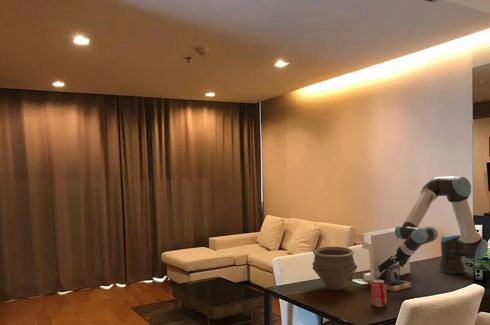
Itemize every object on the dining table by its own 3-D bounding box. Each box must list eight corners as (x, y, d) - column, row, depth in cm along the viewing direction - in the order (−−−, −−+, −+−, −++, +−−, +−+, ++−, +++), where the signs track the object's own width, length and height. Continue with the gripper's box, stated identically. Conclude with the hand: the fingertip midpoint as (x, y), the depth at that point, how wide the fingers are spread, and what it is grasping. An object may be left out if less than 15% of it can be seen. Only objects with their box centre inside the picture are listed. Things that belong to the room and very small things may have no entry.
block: (374, 282, 239) (372, 235, 239) (363, 280, 245) (361, 233, 246) (410, 272, 258) (407, 228, 259) (398, 270, 265) (396, 227, 266)
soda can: (383, 302, 203) (382, 278, 203) (389, 307, 196) (387, 282, 196) (369, 303, 202) (368, 279, 203) (374, 308, 195) (373, 283, 196)
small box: (385, 287, 226) (384, 268, 227) (378, 284, 233) (377, 265, 233) (401, 284, 229) (400, 266, 230) (393, 282, 236) (393, 264, 236)
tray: (385, 280, 242) (385, 276, 242) (411, 287, 227) (410, 282, 227) (368, 284, 236) (368, 280, 236) (393, 291, 220) (393, 287, 220)
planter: (358, 283, 238) (356, 246, 239) (358, 296, 215) (356, 254, 215) (315, 282, 245) (314, 245, 245) (310, 293, 221) (309, 253, 222)
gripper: (395, 258, 212) (374, 281, 225) (425, 253, 224) (403, 275, 237) (386, 247, 217) (366, 270, 230) (416, 242, 229) (395, 264, 242)
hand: (385, 272), depth 234 cm, fingers open, 12 cm apart
